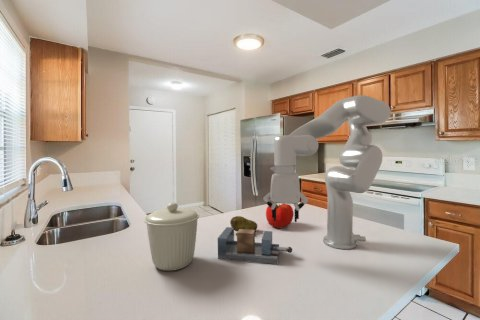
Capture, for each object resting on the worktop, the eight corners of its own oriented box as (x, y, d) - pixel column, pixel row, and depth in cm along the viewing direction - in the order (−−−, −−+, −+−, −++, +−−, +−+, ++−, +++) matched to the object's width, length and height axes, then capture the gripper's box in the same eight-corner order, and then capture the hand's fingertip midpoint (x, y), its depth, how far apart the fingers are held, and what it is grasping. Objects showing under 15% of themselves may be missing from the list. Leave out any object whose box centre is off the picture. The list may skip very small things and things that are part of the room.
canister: (139, 261, 82) (137, 202, 81) (187, 247, 93) (185, 195, 92) (155, 284, 67) (153, 213, 66) (209, 265, 78) (208, 203, 77)
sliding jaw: (292, 247, 87) (292, 232, 87) (292, 258, 79) (292, 242, 78) (264, 245, 90) (264, 230, 89) (261, 255, 81) (261, 239, 81)
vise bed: (279, 249, 90) (279, 230, 90) (277, 264, 78) (277, 242, 78) (227, 245, 94) (226, 227, 94) (217, 258, 83) (217, 238, 82)
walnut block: (254, 248, 88) (254, 229, 88) (253, 252, 84) (253, 233, 84) (239, 246, 89) (239, 228, 89) (237, 251, 85) (236, 232, 85)
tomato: (263, 229, 114) (263, 205, 113) (270, 220, 127) (270, 199, 126) (290, 232, 108) (290, 207, 108) (295, 223, 121) (295, 201, 121)
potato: (259, 235, 105) (258, 218, 104) (230, 236, 104) (230, 219, 104) (256, 229, 113) (256, 213, 113) (230, 230, 112) (230, 213, 112)
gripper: (259, 171, 80) (259, 222, 81) (311, 171, 77) (311, 225, 77) (262, 169, 88) (262, 216, 89) (309, 169, 84) (309, 218, 85)
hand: (285, 219), depth 83 cm, fingers open, 6 cm apart
